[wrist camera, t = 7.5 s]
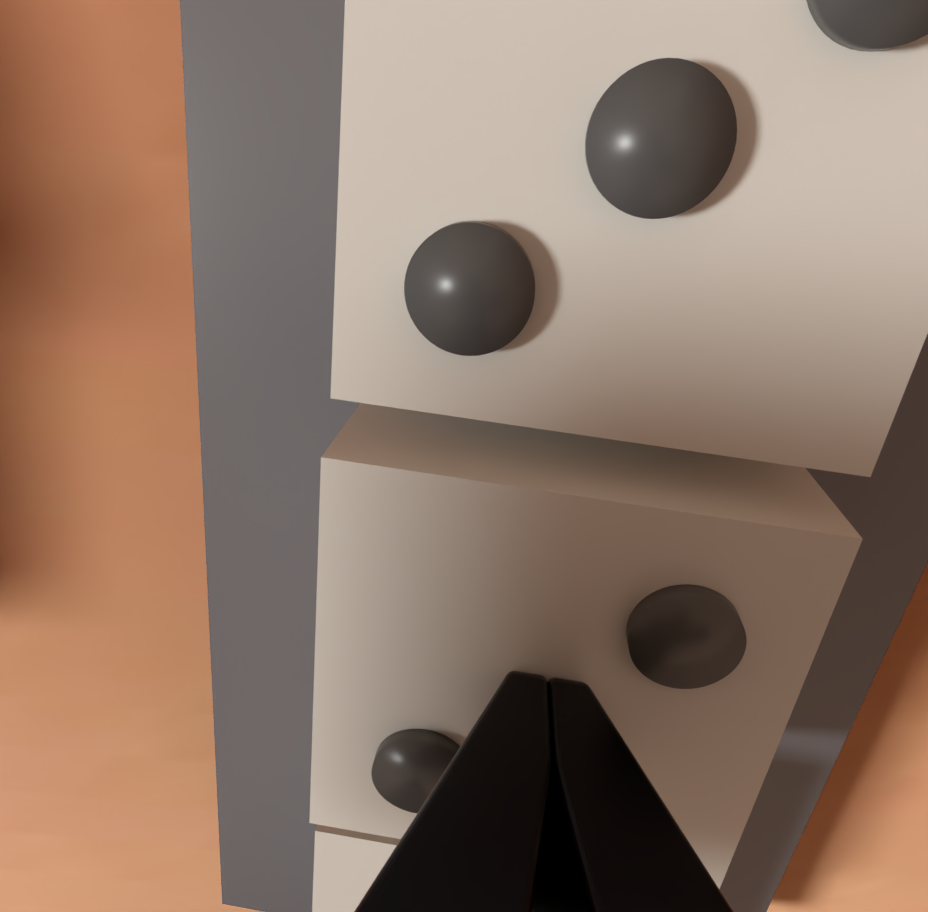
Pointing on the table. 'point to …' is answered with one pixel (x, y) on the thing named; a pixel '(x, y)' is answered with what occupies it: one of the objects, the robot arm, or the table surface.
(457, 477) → the key two
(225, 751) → the keypad board
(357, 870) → the key one
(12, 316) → the table surface
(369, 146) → the key three
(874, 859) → the table surface
